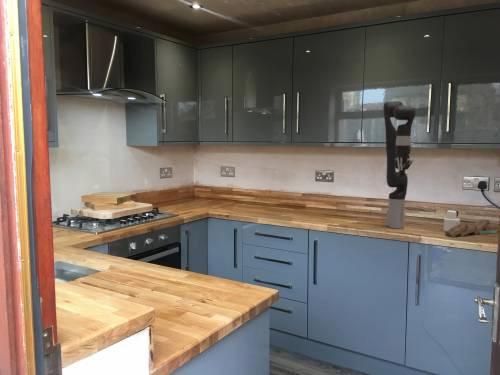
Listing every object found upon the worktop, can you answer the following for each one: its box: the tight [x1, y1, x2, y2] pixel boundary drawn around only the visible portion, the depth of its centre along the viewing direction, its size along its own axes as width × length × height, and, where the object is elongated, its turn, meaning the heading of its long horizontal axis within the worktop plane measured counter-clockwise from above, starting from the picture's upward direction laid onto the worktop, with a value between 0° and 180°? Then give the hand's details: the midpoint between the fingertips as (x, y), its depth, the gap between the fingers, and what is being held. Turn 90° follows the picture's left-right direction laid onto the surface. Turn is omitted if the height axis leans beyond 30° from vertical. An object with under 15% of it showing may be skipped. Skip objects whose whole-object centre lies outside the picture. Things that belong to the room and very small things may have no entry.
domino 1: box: [444, 222, 469, 238], centre depth 228 cm, size 5×2×12 cm
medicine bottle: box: [443, 209, 461, 232], centre depth 240 cm, size 7×7×12 cm
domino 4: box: [482, 223, 500, 231], centre depth 237 cm, size 5×2×12 cm
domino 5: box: [477, 230, 499, 235], centre depth 237 cm, size 5×2×12 cm
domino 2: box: [456, 224, 477, 237], centre depth 230 cm, size 5×2×12 cm
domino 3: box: [469, 218, 491, 236], centre depth 234 cm, size 5×2×12 cm
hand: (401, 177), depth 222 cm, fingers closed
